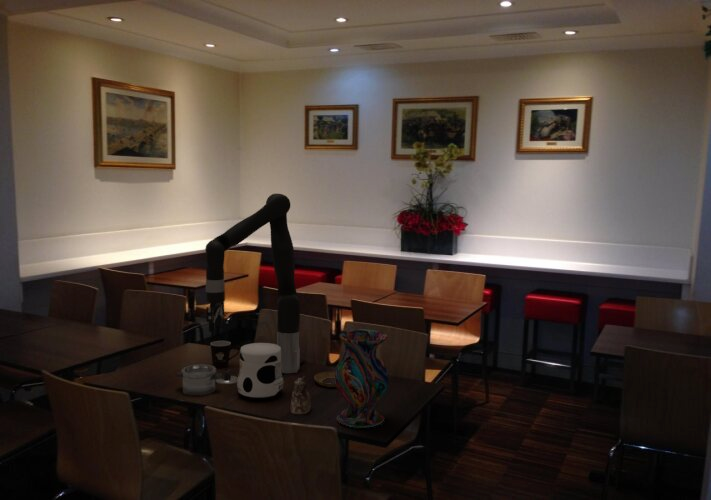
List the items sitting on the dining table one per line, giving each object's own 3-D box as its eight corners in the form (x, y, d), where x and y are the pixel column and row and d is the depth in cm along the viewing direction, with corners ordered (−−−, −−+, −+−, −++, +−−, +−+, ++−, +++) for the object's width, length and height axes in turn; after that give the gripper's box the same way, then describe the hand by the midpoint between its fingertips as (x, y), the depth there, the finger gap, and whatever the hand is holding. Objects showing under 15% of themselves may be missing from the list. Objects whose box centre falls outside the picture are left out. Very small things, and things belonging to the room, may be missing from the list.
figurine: (286, 411, 219) (286, 378, 217) (298, 405, 225) (299, 373, 223) (301, 415, 215) (302, 382, 213) (314, 409, 221) (315, 377, 219)
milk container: (233, 388, 239) (233, 343, 237) (277, 384, 246) (277, 340, 243) (241, 404, 223) (241, 356, 221) (288, 400, 229) (289, 352, 227)
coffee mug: (206, 367, 264) (206, 344, 263) (216, 362, 272) (216, 339, 271) (230, 370, 261) (231, 347, 260) (240, 365, 269) (240, 342, 268)
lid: (241, 378, 253) (241, 367, 252) (234, 385, 244) (234, 374, 244) (220, 376, 254) (220, 366, 253) (212, 384, 245) (212, 373, 245)
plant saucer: (350, 390, 242) (350, 383, 242) (312, 389, 242) (312, 382, 242) (350, 378, 257) (350, 371, 257) (315, 377, 257) (315, 371, 257)
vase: (326, 426, 207) (328, 338, 203) (343, 407, 224) (345, 326, 220) (379, 434, 201) (382, 344, 198) (392, 414, 219) (396, 331, 215)
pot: (225, 386, 242) (225, 365, 241) (214, 397, 230) (214, 375, 229) (184, 383, 244) (184, 363, 243) (171, 394, 232) (171, 373, 231)
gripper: (218, 293, 243) (218, 334, 245) (230, 287, 257) (230, 325, 259) (199, 293, 244) (200, 333, 246) (212, 286, 258) (213, 324, 260)
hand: (215, 329), depth 253 cm, fingers open, 8 cm apart
